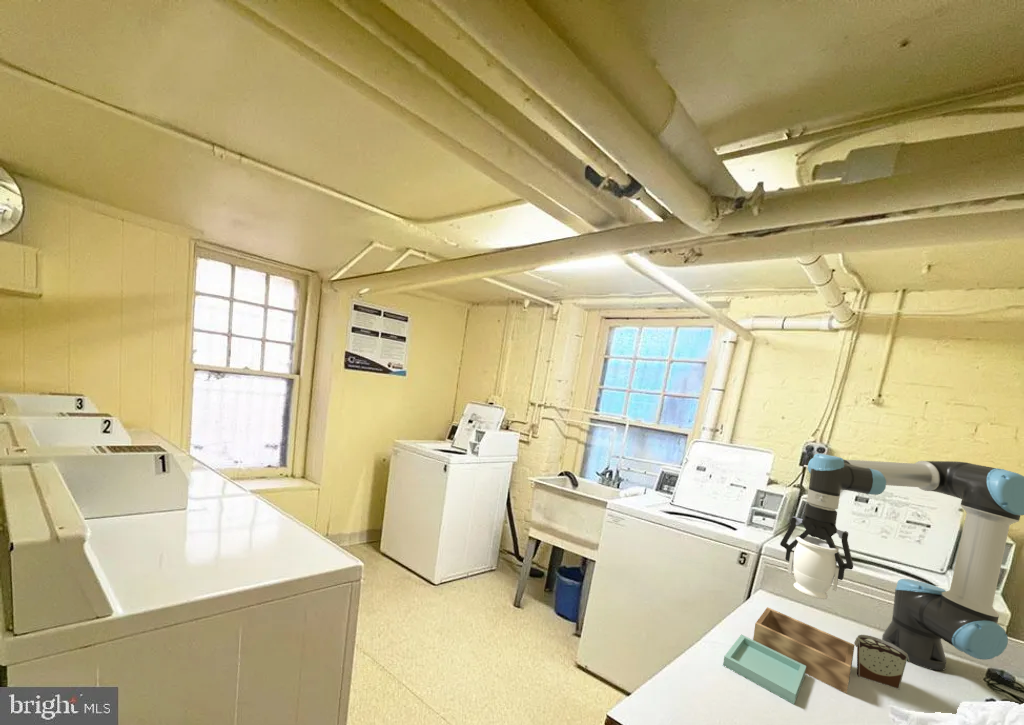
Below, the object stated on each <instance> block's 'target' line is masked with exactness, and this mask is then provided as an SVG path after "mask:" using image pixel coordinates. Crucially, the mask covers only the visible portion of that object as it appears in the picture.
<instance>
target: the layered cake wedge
mask: <svg viewBox="0 0 1024 725" xmlns="http://www.w3.org/2000/svg"><path fill="white" fill-rule="evenodd" d="M853 644H854V647H856V674H857V677H858V678H861V679H865V680H868V681H871V682H873V683H876V684H880V685H882V686H886V687H889V688H893V689H896V690H900V688H901V683H902V679H903V676H904V672H905V668H906V664H907V663H910V661H909V657H908V654H907V653H906V652H904V651H903V650H901V649H900V648H898V647H896V646H895V645H893V644H891V643H889V642H886V641H884V640H882V638H879V637H876V636H872V635H868V634H859V635H857V637H856V638H855V641H854V643H853Z"/></svg>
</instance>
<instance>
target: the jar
mask: <svg viewBox="0 0 1024 725" xmlns="http://www.w3.org/2000/svg"><path fill="white" fill-rule="evenodd" d="M800 535H801V534H797V535H796V537H795V539H796V540H797V541H798V544H797V545H796V546H795V547H794V550H793V551H794V555H793V577H794V579H795V582H794V583H793V588H795V590H797V591H798V592H800V593H802V594H804V595H806V596H808V597H812V598H815V599H819V600H827V599H828V593H827V592H828V591H829V590H830V589H831V586H833V582H834V576H835V569H836V566H837V565H838V563H837V561H836V559H835V553H837V552H839V551H840V549H839V547H838V546H836V548H830V547H829V545H828V544H827V542H826V540H822V539H819V538H817V537H812V536H810V535H808V536H806V537H805V538H804V539H801V538H800V537H799V536H800Z"/></svg>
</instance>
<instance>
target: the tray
mask: <svg viewBox="0 0 1024 725" xmlns="http://www.w3.org/2000/svg"><path fill="white" fill-rule="evenodd" d="M723 665H724V666H723ZM722 666H723V667H725V666H726V667H725V668H727V669H728V668H729V669H728V670H730V669H731V670H730V671H732V670H733V671H732V672H734V671H735V672H734V673H736V674H738V675H739V676H741V677H743V678H745V679H747V680H748V681H751V682H752V683H754V684H755V685H757V686H759V687H762V688H763V689H765V690H766V691H769V692H770V693H772V694H773V695H776V696H777V697H780V698H782V699H783V700H785V701H787V702H788V703H791V704H793V705H795V704H796V701H797V699H798V695H799V693H800V690H801V687H802V684H803V682H804V679H805V676H806V666H805V665H803V664H801V663H799V662H797V661H795V660H793V659H791V658H789V657H787V656H785V655H783V654H781V653H779V652H777V651H774V650H772V649H770V648H768V647H766V646H764V645H762V644H760V643H758V642H756V641H754V640H753V638H750V637H747V636H745V635H744V634H740V635H739V637H738V638H737V639H736V640H735V642H734V643H733V645H732V646H731V647H730V648H729V649H728V651H727V652H726V653H725V655H724V658H723V663H722Z"/></svg>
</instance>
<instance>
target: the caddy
mask: <svg viewBox="0 0 1024 725" xmlns="http://www.w3.org/2000/svg"><path fill="white" fill-rule="evenodd" d="M752 640H754V641H756V642H758V643H760V644H762V645H764V646H766V647H768V648H770V649H772V650H774V651H777V652H779V653H781V654H783V655H785V656H787V657H789V658H791V659H793V660H795V661H797V662H799V663H801V664H803V665H805V666H806V673H805V675H807V676H810V677H812V678H814V679H815V680H818V681H819V682H822V683H824V684H825V685H828V686H830V687H832V688H834V689H836V690H838V691H840V692H842V693H844V694H848V689H849V684H850V678H851V672H852V667H853V660H854V651H855V644H854V643H851V642H849V641H847V640H844V639H842V638H840V637H837V636H835V635H832V634H831V633H829V632H826V631H824V630H821V629H819V628H817V627H814V626H812V625H809V624H807V623H805V622H802V621H800V620H799V619H795V618H794V617H792V616H790V615H789V616H788V615H787V614H784V613H782V612H780V611H777V610H775V609H772V608H771V607H766V608H765V610H764V611H763V612H762V614H761V615H760V617H759V618H758V619H757V620H756V622H755V624H754V631H753V637H752Z"/></svg>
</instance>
